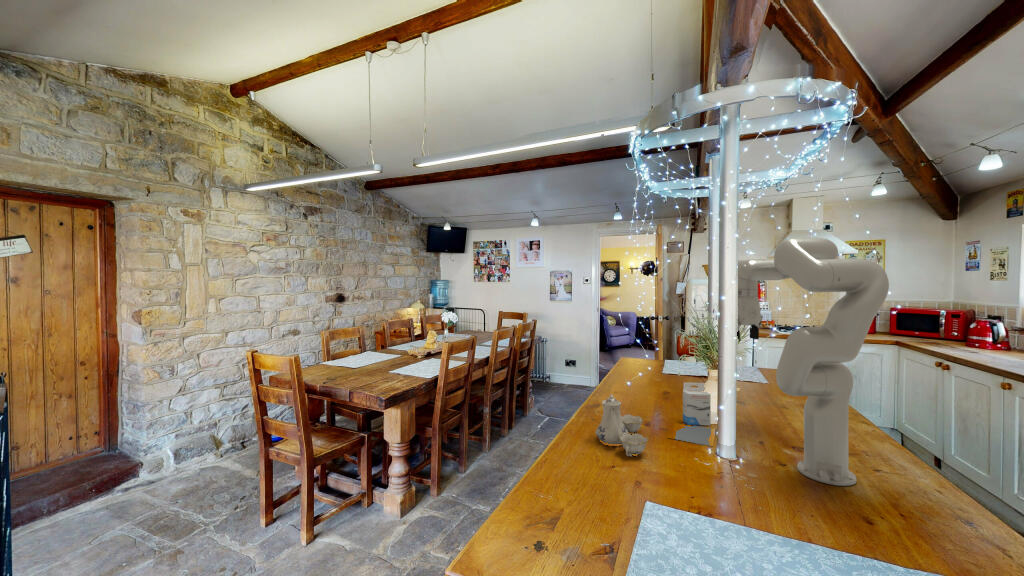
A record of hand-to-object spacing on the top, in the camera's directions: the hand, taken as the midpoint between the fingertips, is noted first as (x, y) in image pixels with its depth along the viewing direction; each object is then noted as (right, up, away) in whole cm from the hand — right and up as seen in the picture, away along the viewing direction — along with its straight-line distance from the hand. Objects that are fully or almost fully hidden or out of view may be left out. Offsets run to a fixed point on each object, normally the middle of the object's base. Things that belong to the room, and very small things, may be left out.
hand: (744, 339), depth 142 cm
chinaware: (-49, -34, -12) cm, 61 cm away
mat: (-22, -32, -7) cm, 40 cm away
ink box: (-16, -32, +3) cm, 36 cm away
